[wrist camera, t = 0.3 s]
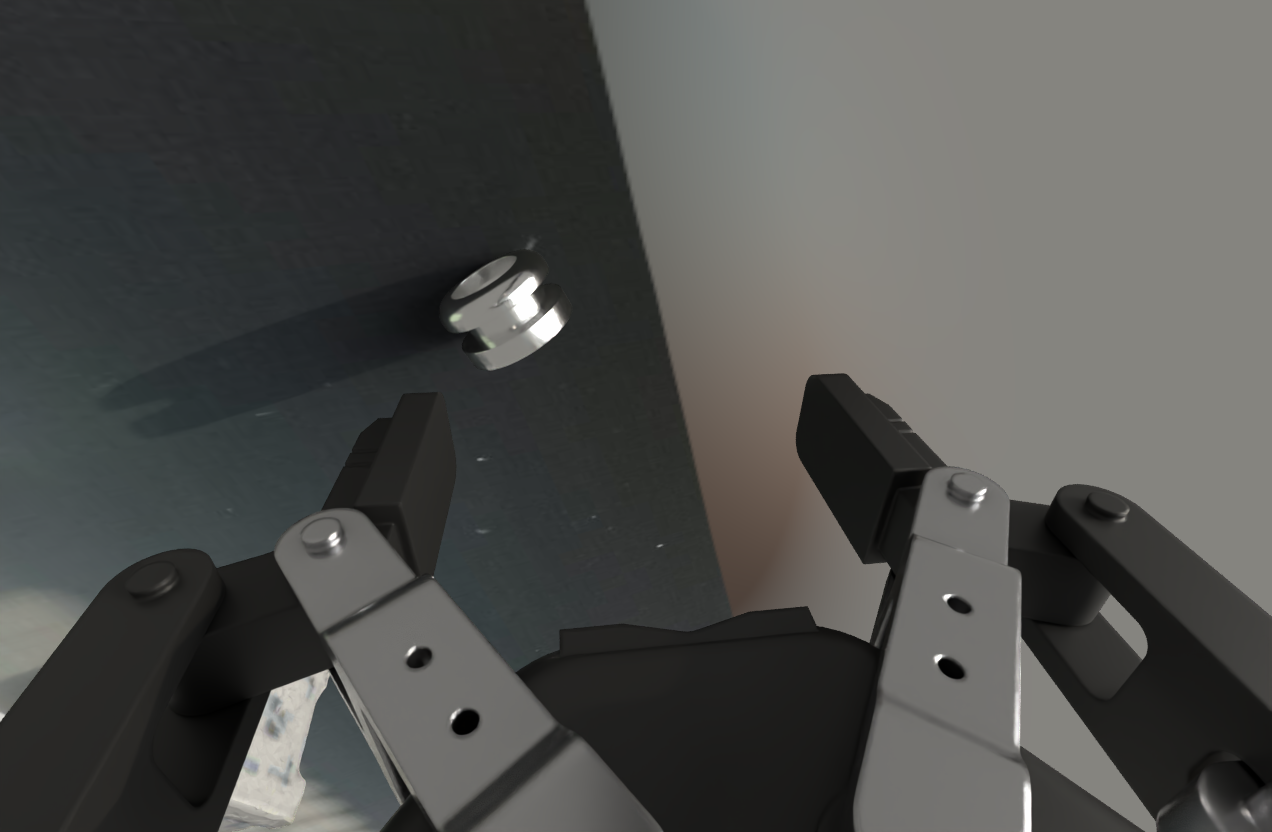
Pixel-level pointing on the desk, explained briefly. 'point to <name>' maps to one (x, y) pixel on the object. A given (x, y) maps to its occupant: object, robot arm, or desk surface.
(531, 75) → the desk surface
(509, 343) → the metal grooved wheel
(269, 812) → the incense holder
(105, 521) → the desk surface
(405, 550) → the robot arm
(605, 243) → the desk surface
